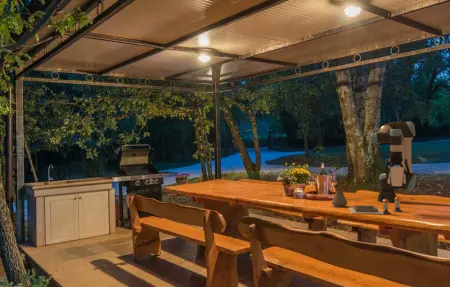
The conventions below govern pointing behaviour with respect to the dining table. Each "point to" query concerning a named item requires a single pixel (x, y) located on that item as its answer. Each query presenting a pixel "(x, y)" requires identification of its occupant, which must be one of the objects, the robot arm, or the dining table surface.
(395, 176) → the foam cup
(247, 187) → the dining table surface
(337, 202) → the coffee pot
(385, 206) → the pegs
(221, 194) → the dining table surface
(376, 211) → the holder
